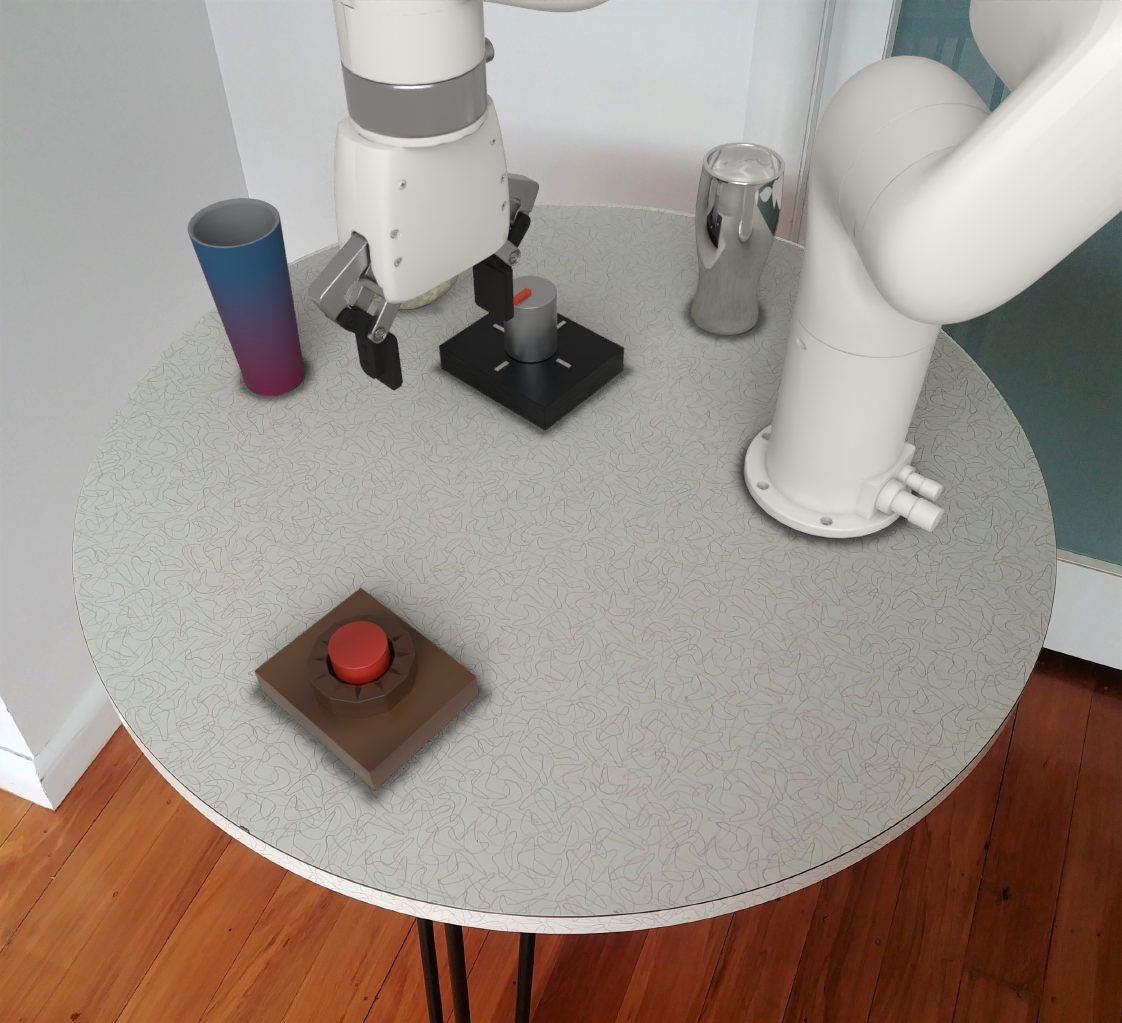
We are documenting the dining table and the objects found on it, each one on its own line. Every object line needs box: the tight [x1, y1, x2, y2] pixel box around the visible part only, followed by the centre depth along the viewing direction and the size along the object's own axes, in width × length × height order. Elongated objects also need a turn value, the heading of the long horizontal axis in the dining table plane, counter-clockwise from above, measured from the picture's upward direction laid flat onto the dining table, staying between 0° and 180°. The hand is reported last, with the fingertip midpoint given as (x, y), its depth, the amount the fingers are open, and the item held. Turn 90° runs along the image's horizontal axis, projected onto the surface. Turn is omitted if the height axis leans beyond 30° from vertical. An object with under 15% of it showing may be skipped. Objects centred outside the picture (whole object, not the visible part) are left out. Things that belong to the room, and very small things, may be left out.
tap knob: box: [504, 275, 558, 362], centre depth 87 cm, size 4×4×6 cm
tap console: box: [438, 312, 625, 431], centre depth 90 cm, size 12×10×3 cm
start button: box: [328, 621, 391, 684], centre depth 65 cm, size 4×4×2 cm
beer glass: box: [690, 141, 786, 336], centre depth 90 cm, size 7×7×15 cm
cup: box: [187, 197, 306, 397], centre depth 85 cm, size 7×7×15 cm
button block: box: [254, 587, 479, 791], centre depth 67 cm, size 11×9×4 cm
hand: (440, 344), depth 69 cm, fingers open, 9 cm apart
